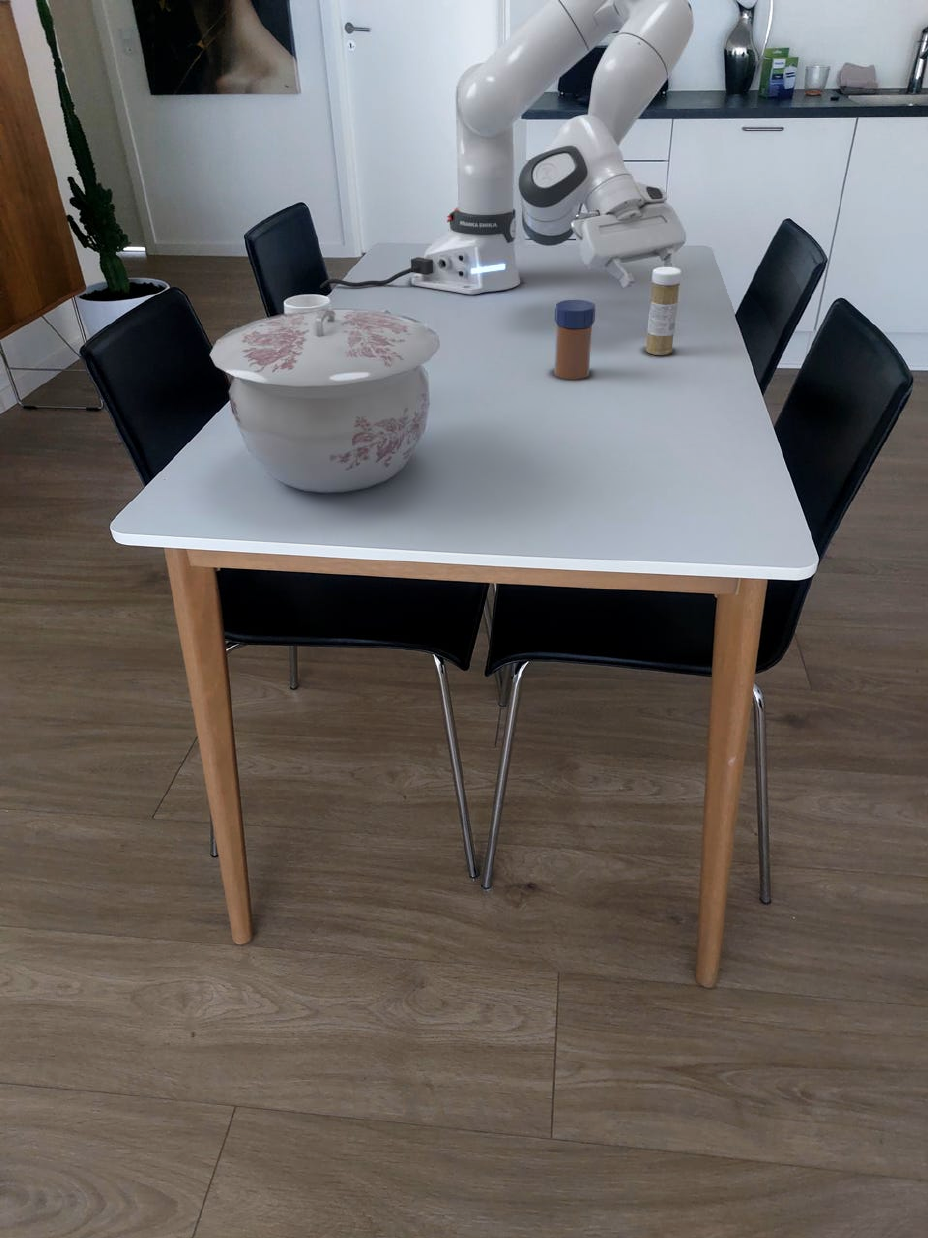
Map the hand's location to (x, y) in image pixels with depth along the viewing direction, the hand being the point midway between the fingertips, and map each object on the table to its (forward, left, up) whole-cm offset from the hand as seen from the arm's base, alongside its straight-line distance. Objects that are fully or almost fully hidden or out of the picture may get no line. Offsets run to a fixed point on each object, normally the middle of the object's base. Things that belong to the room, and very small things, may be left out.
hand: (651, 280), depth 157 cm
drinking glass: (-41, -42, -11) cm, 59 cm away
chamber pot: (-27, -62, -11) cm, 68 cm away
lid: (-8, -18, 0) cm, 19 cm away
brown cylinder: (-8, -18, -11) cm, 22 cm away
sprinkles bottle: (+3, -3, -11) cm, 12 cm away
